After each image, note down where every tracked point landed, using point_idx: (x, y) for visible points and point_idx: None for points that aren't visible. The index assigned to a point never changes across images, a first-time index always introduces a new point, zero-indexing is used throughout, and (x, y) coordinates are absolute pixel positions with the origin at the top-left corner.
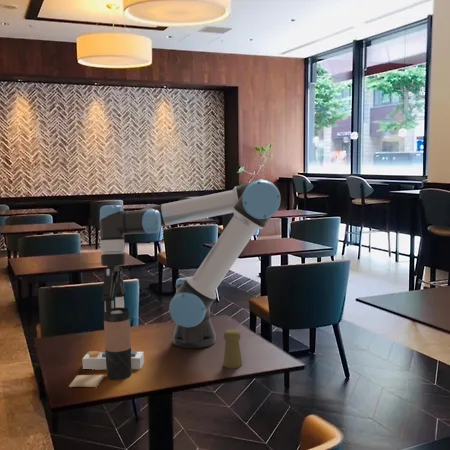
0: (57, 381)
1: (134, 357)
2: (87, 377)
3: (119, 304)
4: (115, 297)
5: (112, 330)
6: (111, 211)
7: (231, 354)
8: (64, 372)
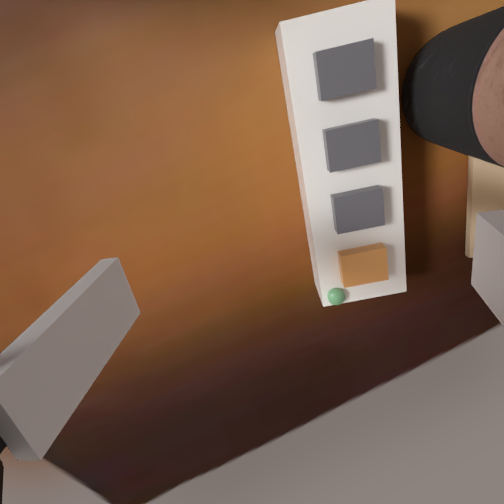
0: None
1: (383, 38)
2: (498, 209)
3: (72, 356)
4: (39, 456)
5: None
6: None
7: None
8: (414, 317)
